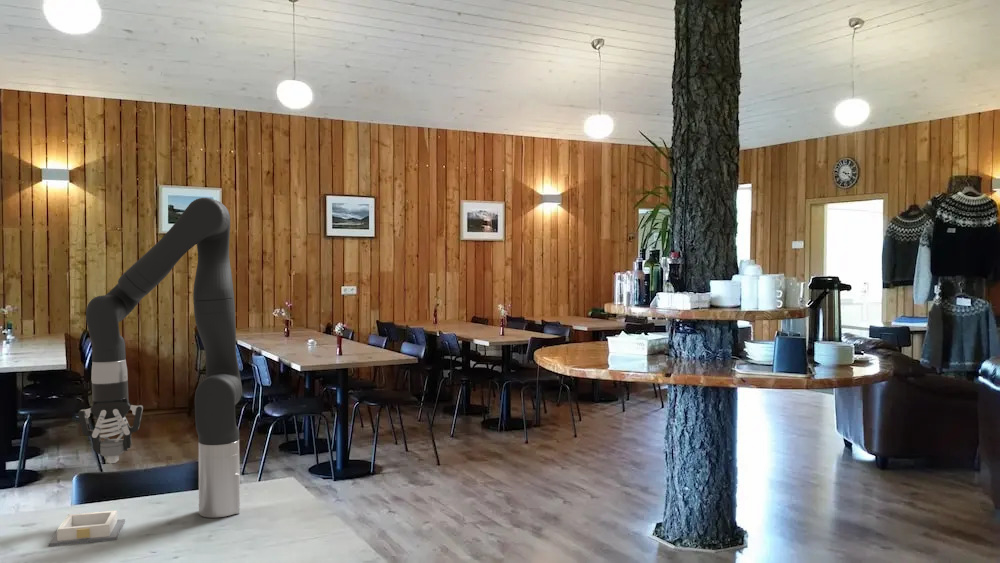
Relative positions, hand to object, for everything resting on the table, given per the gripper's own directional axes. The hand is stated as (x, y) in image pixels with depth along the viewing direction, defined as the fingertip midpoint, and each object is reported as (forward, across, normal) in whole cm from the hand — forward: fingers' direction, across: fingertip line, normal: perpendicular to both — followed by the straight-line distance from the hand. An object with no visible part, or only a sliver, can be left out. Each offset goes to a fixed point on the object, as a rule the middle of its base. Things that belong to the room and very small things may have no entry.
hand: (112, 451), depth 181 cm
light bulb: (+3, 0, 0) cm, 3 cm away
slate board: (+15, +4, +11) cm, 19 cm away
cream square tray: (+15, +4, +11) cm, 19 cm away
